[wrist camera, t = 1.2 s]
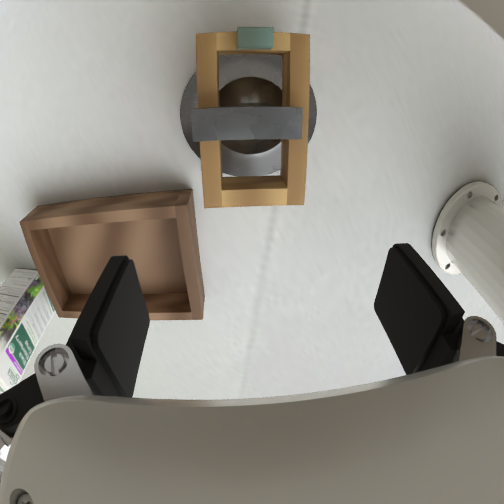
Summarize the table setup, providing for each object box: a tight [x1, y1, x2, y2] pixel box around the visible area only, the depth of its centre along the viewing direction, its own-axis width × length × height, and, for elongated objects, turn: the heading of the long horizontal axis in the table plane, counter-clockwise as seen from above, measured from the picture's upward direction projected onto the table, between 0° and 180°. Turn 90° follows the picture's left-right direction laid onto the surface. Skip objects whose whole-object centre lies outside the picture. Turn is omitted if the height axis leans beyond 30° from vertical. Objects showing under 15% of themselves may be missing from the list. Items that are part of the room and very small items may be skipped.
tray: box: [20, 189, 205, 320], centre depth 26 cm, size 17×12×4 cm
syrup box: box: [0, 269, 55, 393], centre depth 24 cm, size 6×6×14 cm
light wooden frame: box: [196, 27, 310, 208], centre depth 18 cm, size 7×12×4 cm, turn 0°
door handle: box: [180, 54, 317, 177], centre depth 19 cm, size 11×11×7 cm
